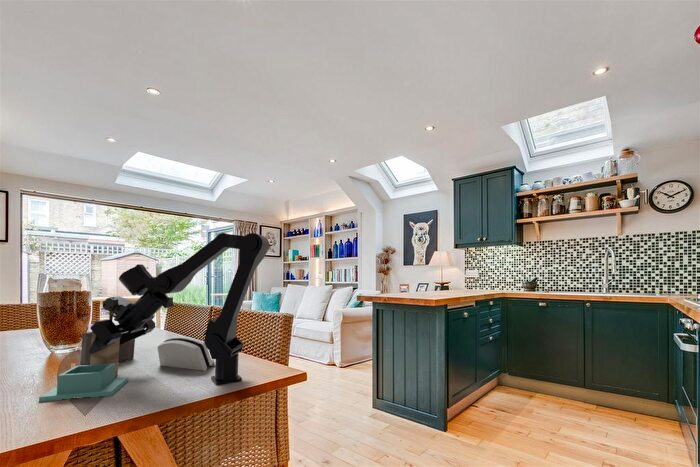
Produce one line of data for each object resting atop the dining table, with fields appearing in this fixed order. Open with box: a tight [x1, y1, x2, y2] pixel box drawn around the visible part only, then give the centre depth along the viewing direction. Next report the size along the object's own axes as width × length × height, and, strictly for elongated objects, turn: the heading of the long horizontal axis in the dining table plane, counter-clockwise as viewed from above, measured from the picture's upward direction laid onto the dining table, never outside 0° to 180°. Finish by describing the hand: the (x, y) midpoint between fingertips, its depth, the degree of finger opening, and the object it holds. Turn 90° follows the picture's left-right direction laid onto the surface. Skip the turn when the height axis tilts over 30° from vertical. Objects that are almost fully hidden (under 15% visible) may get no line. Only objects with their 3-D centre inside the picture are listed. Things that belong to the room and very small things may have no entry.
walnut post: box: [90, 330, 120, 377], centre depth 96 cm, size 4×4×13 cm
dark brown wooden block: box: [79, 311, 136, 365], centre depth 112 cm, size 16×11×18 cm
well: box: [38, 363, 129, 403], centre depth 86 cm, size 14×11×5 cm
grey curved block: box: [157, 336, 216, 371], centre depth 106 cm, size 17×5×10 cm, turn 71°
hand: (103, 348), depth 96 cm, fingers open, 9 cm apart
